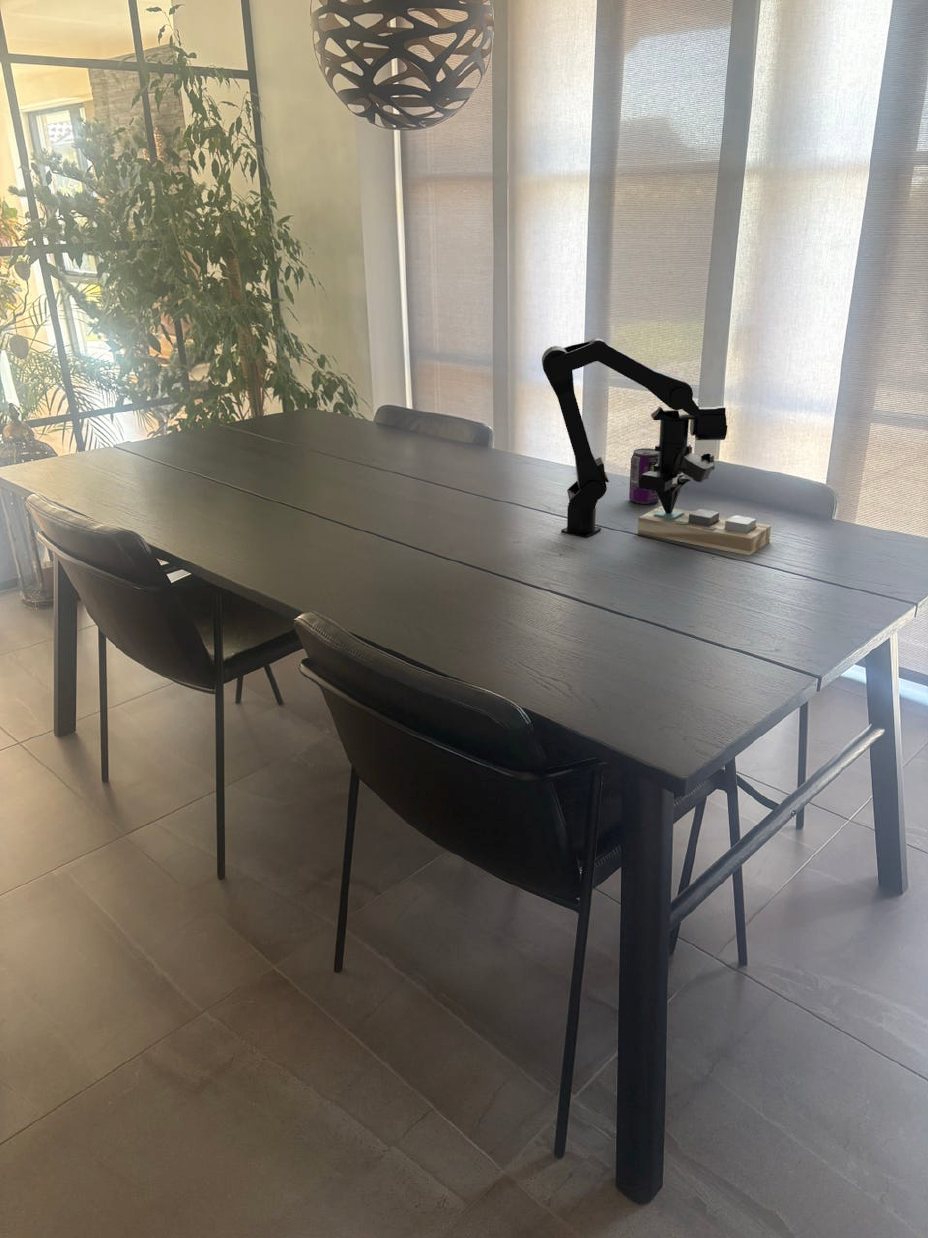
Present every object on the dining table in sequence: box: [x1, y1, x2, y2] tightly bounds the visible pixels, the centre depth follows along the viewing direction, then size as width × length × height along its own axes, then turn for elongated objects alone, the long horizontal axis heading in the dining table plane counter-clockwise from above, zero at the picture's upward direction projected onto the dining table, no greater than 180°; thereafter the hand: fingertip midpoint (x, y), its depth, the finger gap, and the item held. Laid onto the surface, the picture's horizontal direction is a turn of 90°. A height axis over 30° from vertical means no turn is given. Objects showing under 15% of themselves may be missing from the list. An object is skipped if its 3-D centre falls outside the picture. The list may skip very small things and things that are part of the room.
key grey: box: [725, 514, 757, 534], centre depth 189 cm, size 5×5×3 cm
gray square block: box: [688, 508, 720, 527], centre depth 194 cm, size 5×5×3 cm
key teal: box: [654, 509, 684, 520], centre depth 199 cm, size 5×5×3 cm
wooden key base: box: [637, 505, 772, 556], centre depth 195 cm, size 10×25×4 cm, turn 51°
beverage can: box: [628, 447, 660, 505], centre depth 219 cm, size 7×7×12 cm
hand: (668, 513), depth 199 cm, fingers closed, pressing on key teal
